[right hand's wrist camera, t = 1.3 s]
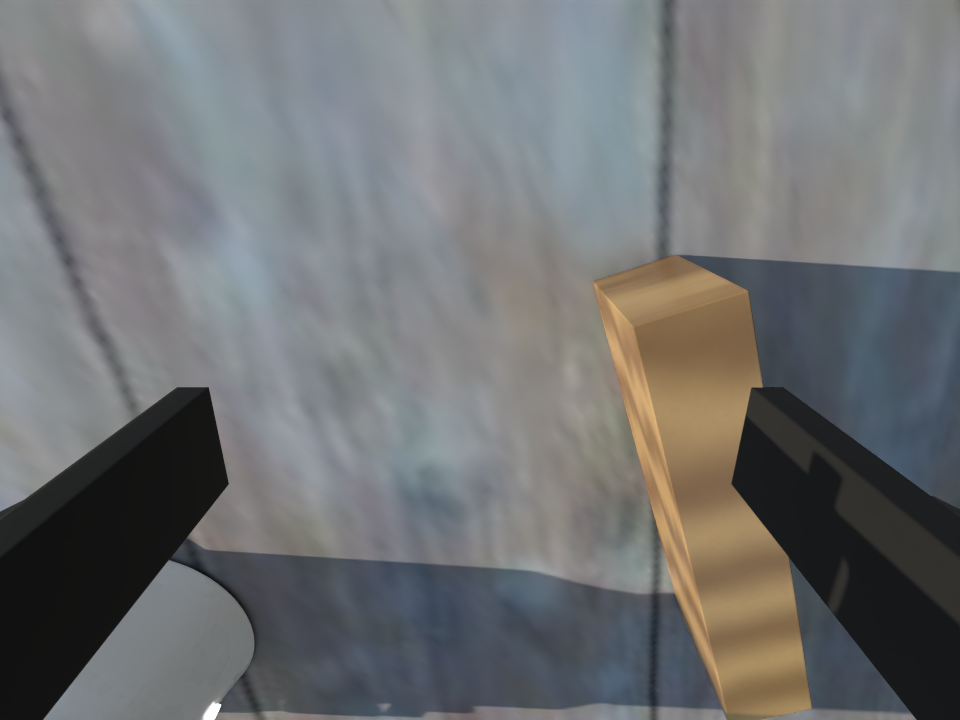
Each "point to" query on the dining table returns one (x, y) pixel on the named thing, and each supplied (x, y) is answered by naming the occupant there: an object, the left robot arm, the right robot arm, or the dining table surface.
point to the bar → (706, 476)
